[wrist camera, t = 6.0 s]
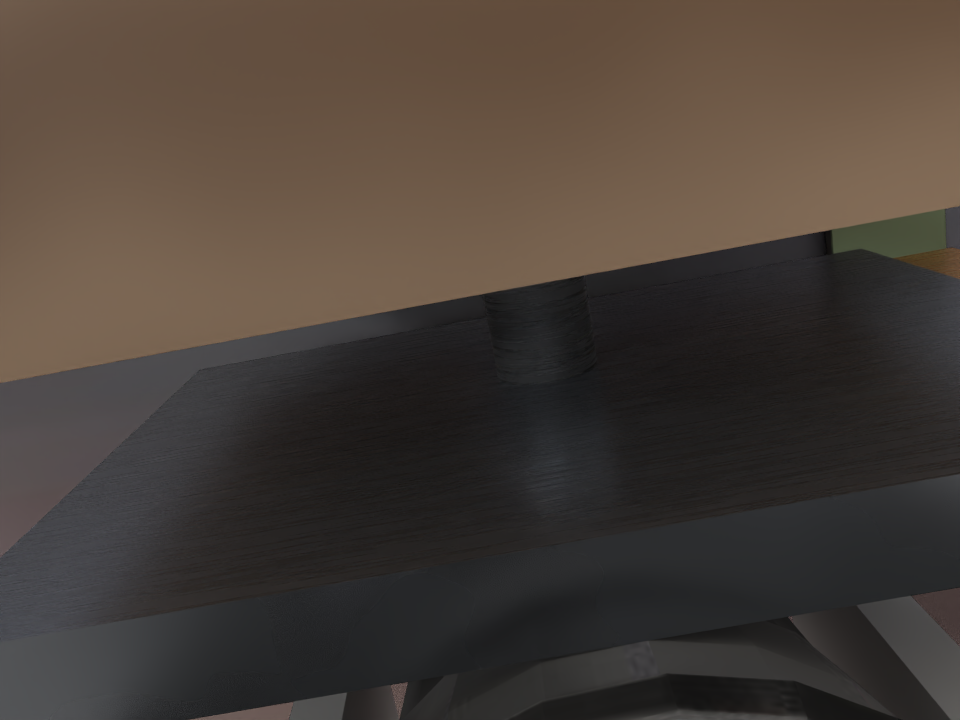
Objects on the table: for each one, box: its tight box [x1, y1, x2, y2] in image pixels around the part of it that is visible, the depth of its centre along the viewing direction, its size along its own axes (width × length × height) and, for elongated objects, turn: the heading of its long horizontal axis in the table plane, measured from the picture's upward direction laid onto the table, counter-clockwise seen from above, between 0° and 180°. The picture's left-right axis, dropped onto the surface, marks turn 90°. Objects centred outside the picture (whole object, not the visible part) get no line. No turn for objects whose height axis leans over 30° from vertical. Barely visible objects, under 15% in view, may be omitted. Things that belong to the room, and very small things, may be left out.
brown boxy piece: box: [0, 0, 960, 383], centre depth 15 cm, size 12×17×10 cm
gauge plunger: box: [0, 247, 960, 720], centre depth 12 cm, size 10×16×10 cm, turn 100°
